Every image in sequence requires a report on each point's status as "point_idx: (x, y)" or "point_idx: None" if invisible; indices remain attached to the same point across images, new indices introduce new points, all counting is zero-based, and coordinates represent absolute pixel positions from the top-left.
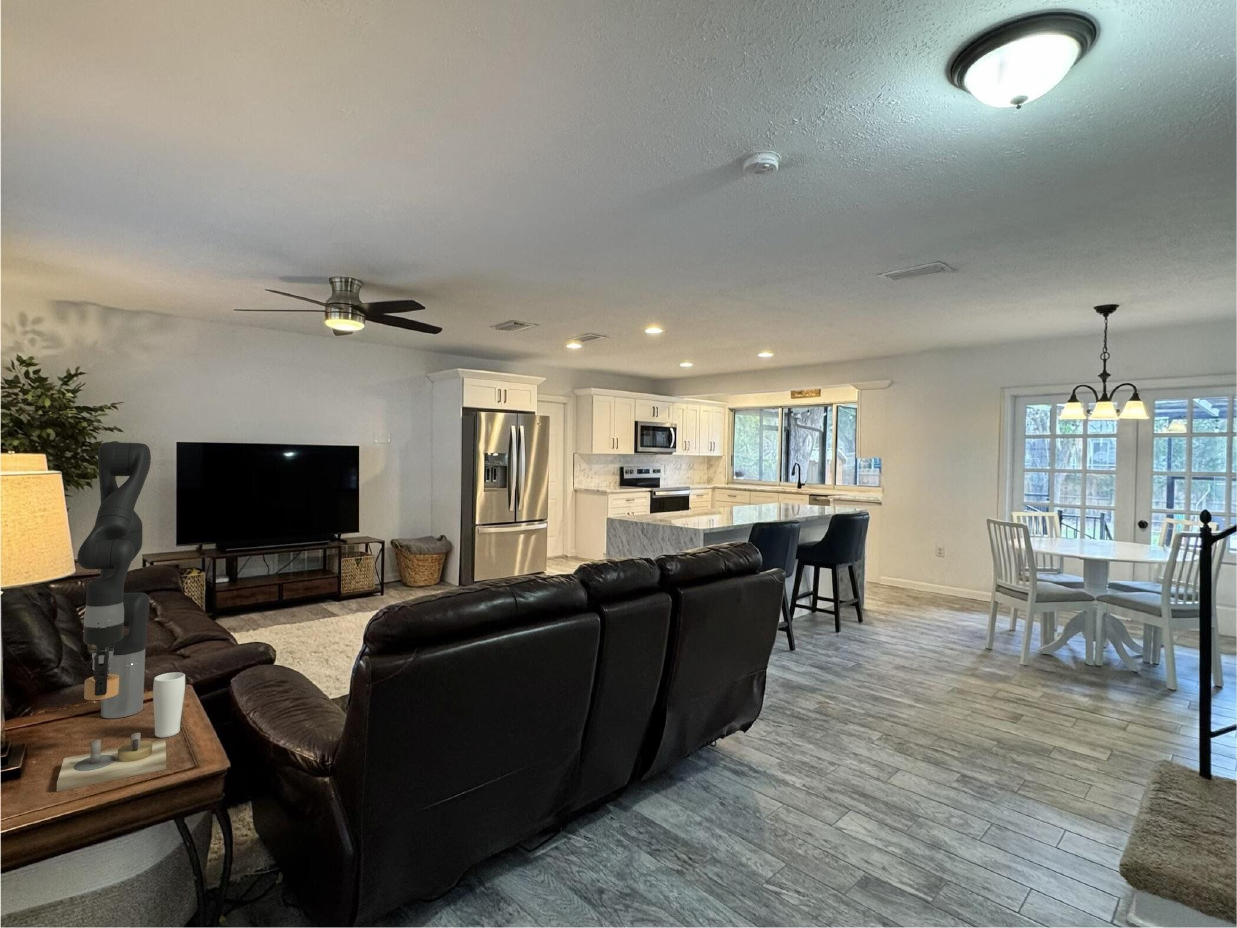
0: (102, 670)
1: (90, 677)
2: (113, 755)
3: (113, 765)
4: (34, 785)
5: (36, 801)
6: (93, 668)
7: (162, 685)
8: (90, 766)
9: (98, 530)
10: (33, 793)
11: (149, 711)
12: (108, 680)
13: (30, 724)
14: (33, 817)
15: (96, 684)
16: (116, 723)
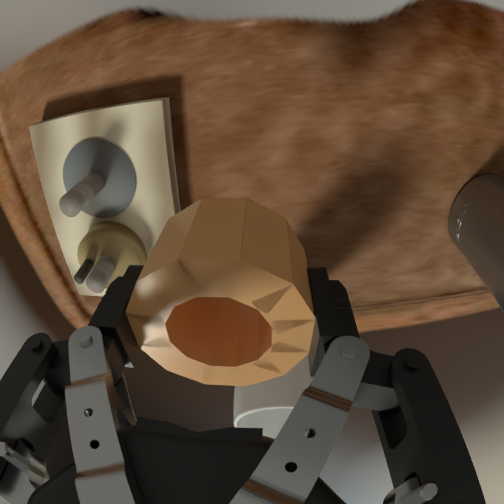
0: (319, 356)
1: (286, 283)
2: (128, 211)
3: (75, 216)
4: (85, 64)
5: (19, 99)
6: (69, 392)
7: (237, 403)
8: (77, 174)
9: None
10: (49, 78)
11: (445, 260)
12: (166, 354)
13: None
14: None
15: (110, 310)
16: (423, 200)
